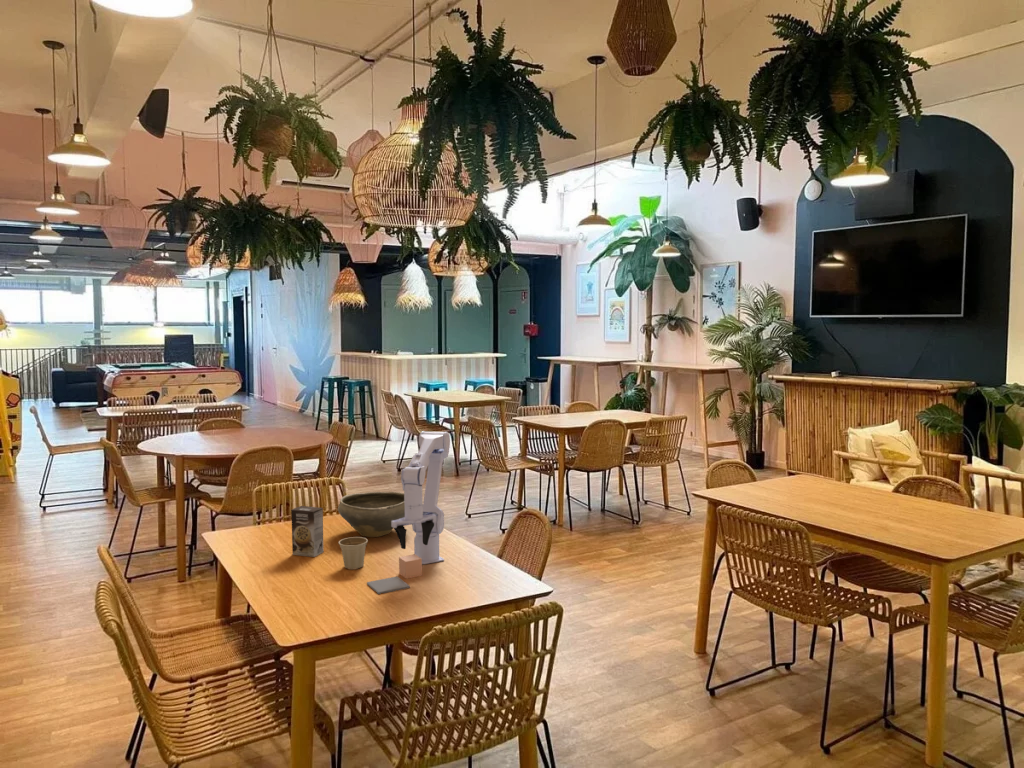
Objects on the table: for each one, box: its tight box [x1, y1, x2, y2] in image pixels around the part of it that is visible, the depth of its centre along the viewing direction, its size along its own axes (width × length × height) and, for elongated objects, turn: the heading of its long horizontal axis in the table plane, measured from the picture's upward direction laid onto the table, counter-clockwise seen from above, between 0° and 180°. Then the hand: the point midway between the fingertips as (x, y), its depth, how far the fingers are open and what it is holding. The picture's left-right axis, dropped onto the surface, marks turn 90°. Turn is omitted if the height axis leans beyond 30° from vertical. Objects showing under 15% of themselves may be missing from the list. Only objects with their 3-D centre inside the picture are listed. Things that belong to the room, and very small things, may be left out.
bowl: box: [337, 491, 405, 538], centre depth 280 cm, size 28×28×14 cm
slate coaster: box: [366, 576, 410, 595], centre depth 224 cm, size 10×10×1 cm
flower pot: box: [338, 536, 369, 570], centre depth 242 cm, size 9×9×9 cm
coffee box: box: [290, 505, 324, 558], centre depth 255 cm, size 9×6×16 cm
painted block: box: [398, 553, 423, 579], centre depth 234 cm, size 6×6×6 cm
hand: (414, 546), depth 233 cm, fingers open, 7 cm apart
